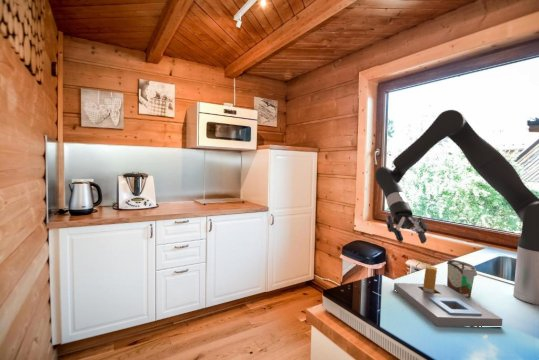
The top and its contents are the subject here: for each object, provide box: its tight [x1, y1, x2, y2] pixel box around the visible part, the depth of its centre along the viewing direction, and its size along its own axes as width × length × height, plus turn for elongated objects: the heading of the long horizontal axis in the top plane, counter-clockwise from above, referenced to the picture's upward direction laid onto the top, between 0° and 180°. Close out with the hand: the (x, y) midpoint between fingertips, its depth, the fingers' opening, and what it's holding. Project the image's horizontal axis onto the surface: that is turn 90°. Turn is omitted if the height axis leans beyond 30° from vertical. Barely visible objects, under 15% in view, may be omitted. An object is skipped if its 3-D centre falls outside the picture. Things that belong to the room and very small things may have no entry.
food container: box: [446, 258, 478, 299], centre depth 94 cm, size 12×6×10 cm, turn 168°
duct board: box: [393, 282, 503, 328], centre depth 83 cm, size 18×22×3 cm
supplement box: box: [423, 265, 438, 293], centre depth 89 cm, size 3×3×10 cm
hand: (412, 241), depth 100 cm, fingers open, 8 cm apart
